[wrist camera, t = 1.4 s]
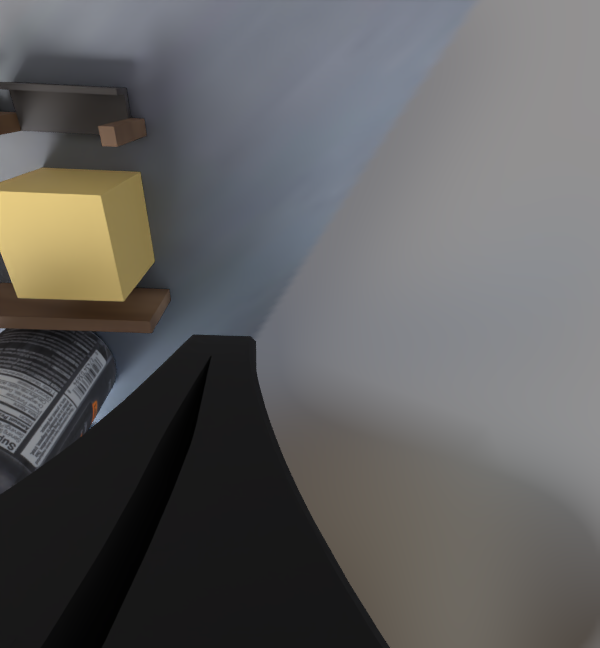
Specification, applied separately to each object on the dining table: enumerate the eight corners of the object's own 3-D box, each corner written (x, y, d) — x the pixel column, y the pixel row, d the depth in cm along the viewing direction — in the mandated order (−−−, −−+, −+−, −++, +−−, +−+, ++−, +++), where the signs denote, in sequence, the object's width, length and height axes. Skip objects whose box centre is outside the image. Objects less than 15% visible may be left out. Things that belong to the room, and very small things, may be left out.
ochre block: (155, 260, 19) (123, 301, 15) (69, 257, 18) (17, 298, 15) (140, 171, 16) (100, 195, 13) (43, 167, 16) (-23, 190, 13)
